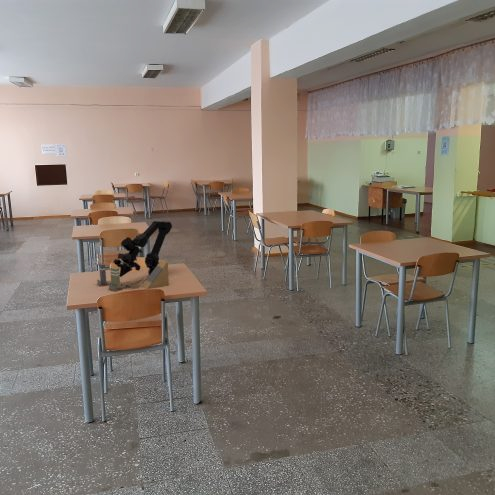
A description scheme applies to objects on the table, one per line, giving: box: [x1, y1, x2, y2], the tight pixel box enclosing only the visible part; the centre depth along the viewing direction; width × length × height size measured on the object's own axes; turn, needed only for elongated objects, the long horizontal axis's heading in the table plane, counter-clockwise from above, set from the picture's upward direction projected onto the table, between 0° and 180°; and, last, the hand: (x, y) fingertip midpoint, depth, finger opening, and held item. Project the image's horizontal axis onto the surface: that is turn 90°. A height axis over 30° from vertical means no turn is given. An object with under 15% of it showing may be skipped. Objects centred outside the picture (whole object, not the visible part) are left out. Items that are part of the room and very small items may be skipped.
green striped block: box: [109, 267, 121, 289], centre depth 284 cm, size 3×5×12 cm, turn 57°
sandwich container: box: [140, 259, 170, 290], centre depth 291 cm, size 9×15×15 cm, turn 125°
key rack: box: [96, 279, 127, 292], centre depth 291 cm, size 10×22×3 cm, turn 45°
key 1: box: [98, 262, 107, 284], centre depth 294 cm, size 3×5×12 cm, turn 31°
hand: (120, 276), depth 287 cm, fingers closed
